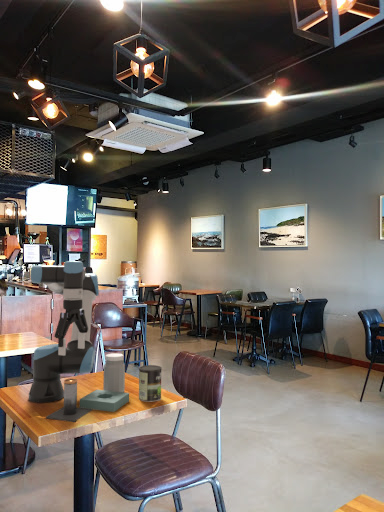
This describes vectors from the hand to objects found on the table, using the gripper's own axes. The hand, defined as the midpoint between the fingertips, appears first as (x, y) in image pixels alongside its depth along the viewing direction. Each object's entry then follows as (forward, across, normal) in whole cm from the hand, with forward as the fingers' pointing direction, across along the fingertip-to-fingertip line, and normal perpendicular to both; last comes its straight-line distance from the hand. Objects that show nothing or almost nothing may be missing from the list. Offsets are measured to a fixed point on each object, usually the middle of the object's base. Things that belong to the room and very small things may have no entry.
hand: (71, 351), depth 164 cm
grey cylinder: (+24, -1, 0) cm, 24 cm away
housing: (+25, +13, -8) cm, 29 cm away
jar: (+25, +29, -4) cm, 39 cm away
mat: (+25, -1, 0) cm, 25 cm away
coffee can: (+25, +27, -23) cm, 44 cm away
